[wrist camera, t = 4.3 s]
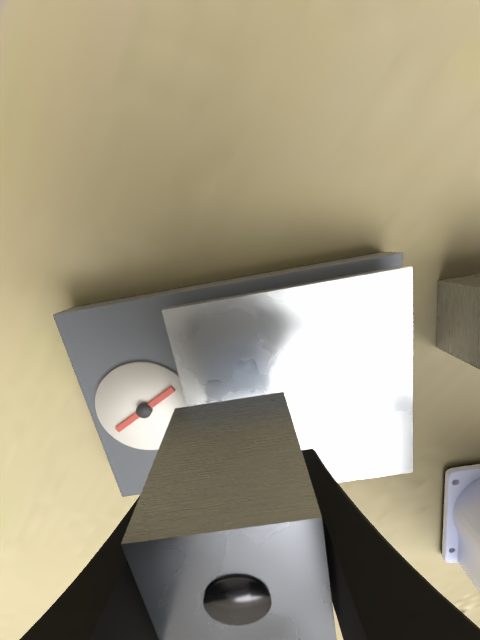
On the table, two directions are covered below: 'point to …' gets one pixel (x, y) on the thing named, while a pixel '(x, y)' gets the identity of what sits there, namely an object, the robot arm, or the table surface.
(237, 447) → the block
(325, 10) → the table surface
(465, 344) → the block
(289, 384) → the pan
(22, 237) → the table surface
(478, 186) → the table surface
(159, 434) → the scale housing
